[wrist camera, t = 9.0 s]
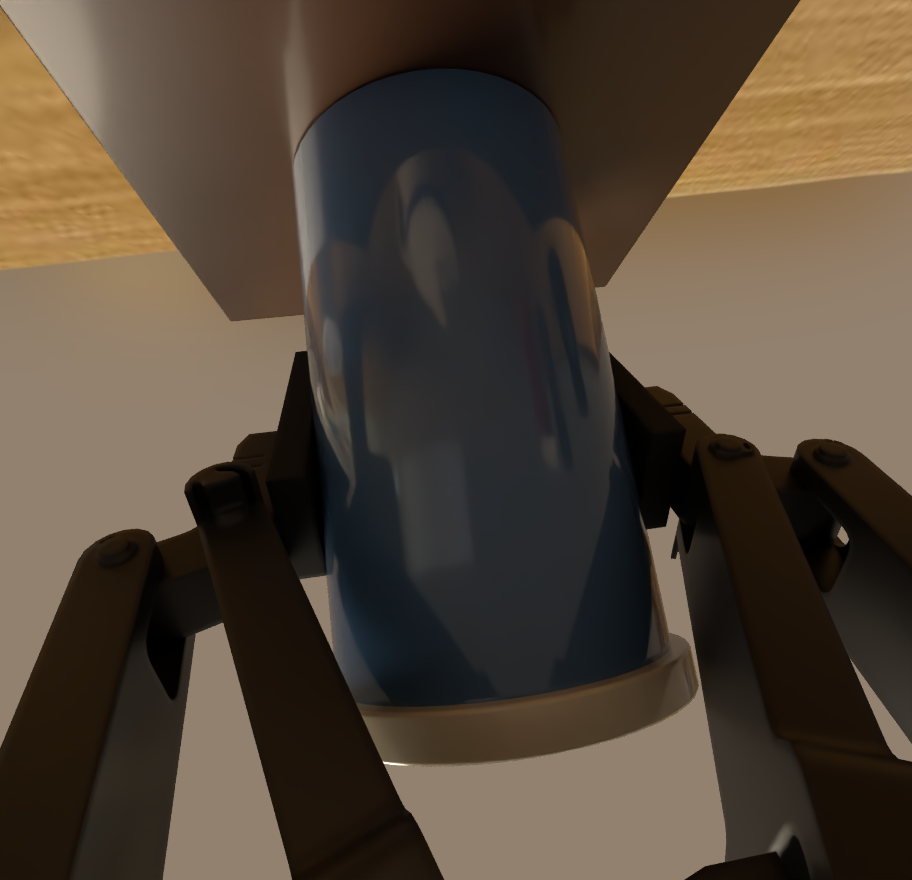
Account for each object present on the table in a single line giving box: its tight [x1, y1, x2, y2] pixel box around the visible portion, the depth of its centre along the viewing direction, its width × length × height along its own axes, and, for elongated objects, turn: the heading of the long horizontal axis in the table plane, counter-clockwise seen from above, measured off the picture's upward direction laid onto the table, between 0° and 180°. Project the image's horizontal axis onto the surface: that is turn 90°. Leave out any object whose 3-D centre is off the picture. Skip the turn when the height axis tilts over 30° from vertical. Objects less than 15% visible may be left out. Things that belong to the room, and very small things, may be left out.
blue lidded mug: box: [292, 68, 699, 766], centre depth 15 cm, size 8×11×13 cm
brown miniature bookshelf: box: [0, 0, 800, 321], centre depth 17 cm, size 15×13×12 cm
